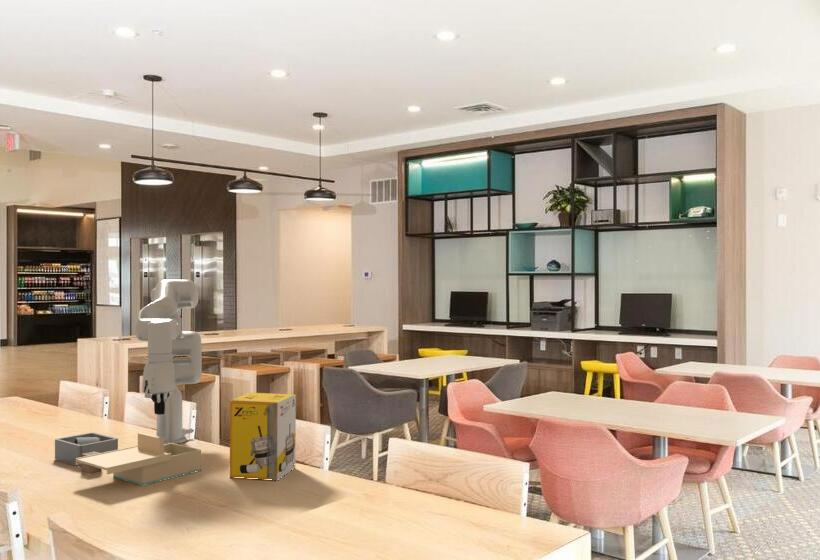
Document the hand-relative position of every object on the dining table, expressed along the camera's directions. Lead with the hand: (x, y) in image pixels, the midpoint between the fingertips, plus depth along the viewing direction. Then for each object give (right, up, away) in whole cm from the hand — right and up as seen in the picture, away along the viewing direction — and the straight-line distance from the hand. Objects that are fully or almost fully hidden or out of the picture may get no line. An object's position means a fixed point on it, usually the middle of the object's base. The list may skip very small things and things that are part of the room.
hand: (159, 413), depth 251 cm
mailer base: (0, -19, -3) cm, 19 cm away
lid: (-7, -13, -13) cm, 19 cm away
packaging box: (+34, -20, -1) cm, 40 cm away
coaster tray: (-31, -19, +16) cm, 39 cm away
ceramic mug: (-32, -19, +18) cm, 41 cm away
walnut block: (-22, -19, -1) cm, 29 cm away
